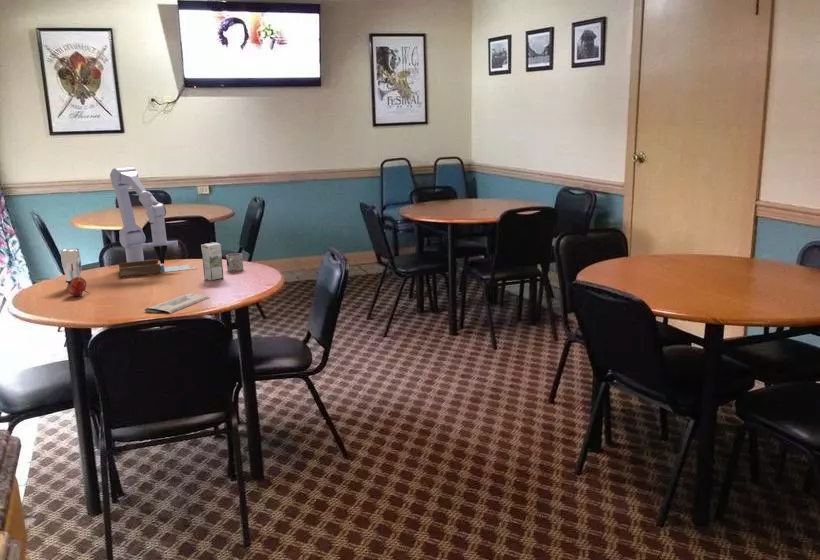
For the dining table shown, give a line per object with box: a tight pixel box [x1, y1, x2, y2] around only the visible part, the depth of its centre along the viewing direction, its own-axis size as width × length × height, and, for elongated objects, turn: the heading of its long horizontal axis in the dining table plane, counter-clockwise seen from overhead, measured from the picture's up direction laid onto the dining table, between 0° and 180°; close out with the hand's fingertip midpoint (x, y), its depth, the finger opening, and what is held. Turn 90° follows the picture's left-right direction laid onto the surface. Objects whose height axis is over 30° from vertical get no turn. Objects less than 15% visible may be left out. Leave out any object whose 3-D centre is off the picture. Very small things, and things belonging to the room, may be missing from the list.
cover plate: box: [159, 263, 198, 273], centre depth 312 cm, size 11×15×3 cm
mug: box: [225, 252, 244, 272], centre depth 302 cm, size 10×7×7 cm, turn 178°
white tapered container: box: [60, 248, 82, 286], centre depth 282 cm, size 7×7×15 cm
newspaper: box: [144, 292, 210, 315], centre depth 249 cm, size 23×12×2 cm, turn 159°
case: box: [118, 258, 162, 279], centre depth 306 cm, size 13×16×4 cm
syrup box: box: [200, 242, 224, 281], centre depth 286 cm, size 6×6×14 cm
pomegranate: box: [65, 276, 90, 297], centre depth 268 cm, size 7×7×10 cm
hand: (162, 263), depth 309 cm, fingers closed
